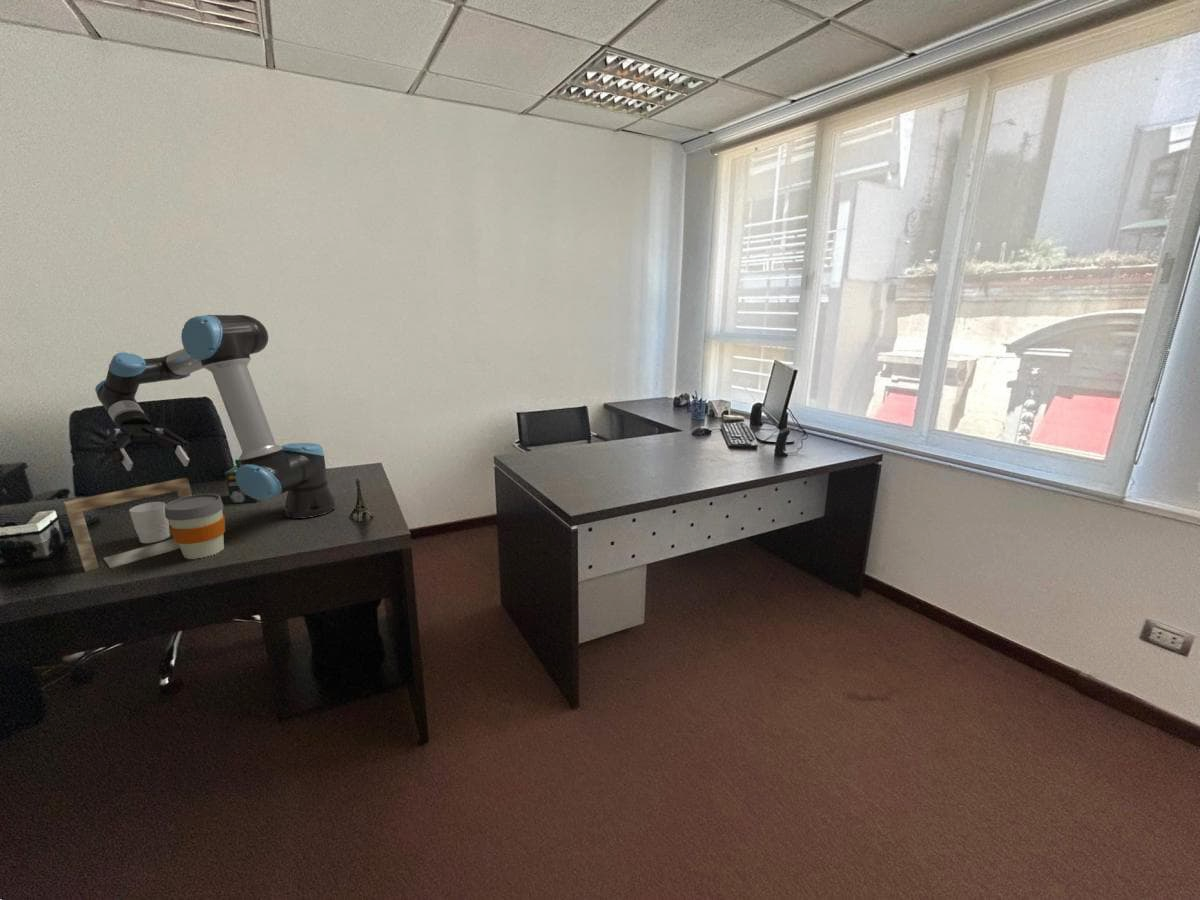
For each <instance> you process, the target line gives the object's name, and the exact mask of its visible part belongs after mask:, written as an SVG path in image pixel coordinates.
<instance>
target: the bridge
mask: <svg viewBox="0 0 1200 900" xmlns="http://www.w3.org/2000/svg"><path fill="white" fill-rule="evenodd" d="M173 492H177V493H176V494H177V497H178V498H177V499H179V498H182V497H186V496H191V495H193V493H192V489H191V485H190V480H189V479H188V478H187V477H181V478H175V479H171V480H167V481H166V480H165V481H161V482H157V483H156V482H155V483H151V484H145V485H142V486H136V487H131V488H125V489H121V490H115V491H112V492H111V491H110V492H106V493H101V494H96V495H91V496H87V497H81V498H76V499H71V500H67V501H63V505H64V508H65V512H66V515H67V517H68V521H69V525H70V527H71V531H72V534H73V535H72V536H73V538H74V541H75V544H76V548H77V551H78V555H79V558H80V561H81V565H82V569H83V570H84V572H90V571H94V570H97V569H99V567H100V566H99V564H98V560H97V557H96V553H95V550H94V546H93V543H92V538H91V536H90V533H89V528H88V526H87V525H88V524H87V521H86V518H85V516H84V511H89V510H93V509H94V510H95V509H98V508H99V509H100V508H103V507H104V508H105V507H108V506H113V505H118V504H123V503H127V502H131V501H136V500H141V499H145V498H151V497H155V496H156V497H157V496H160V495H163V494H169V493H173ZM179 549H180V546H179V544H178V543H177V542H175V540H174V538H172V539H168V540H163V541H159V542H156V543H154V544H153V543H152V544H149V545H145V546H143V547H142V546H141V547H139V548H136V549H131V550H128V551H124V552H120V553H116V554H113V555H110V556H109V555H108V556H105V557H103V560H104V562H105V563H106V565H107V566H108V567H109V569H113V568H117V567H120V566H124V565H127V564H131V563H134V562H137V561H140V560H144V559H148V558H151V557H155V556H158V555H162V554H166V553H169V552H173V551H177V550H179ZM180 550H181V549H180Z"/></svg>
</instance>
